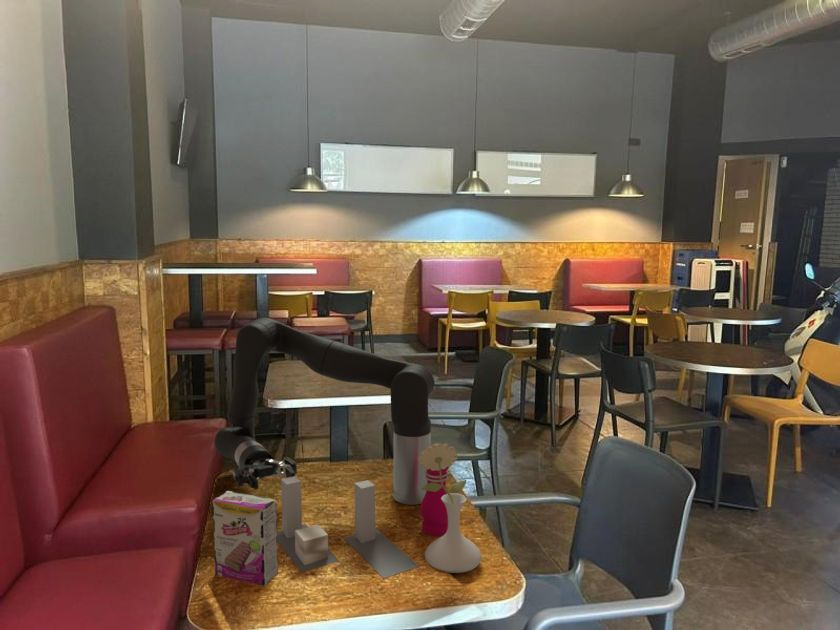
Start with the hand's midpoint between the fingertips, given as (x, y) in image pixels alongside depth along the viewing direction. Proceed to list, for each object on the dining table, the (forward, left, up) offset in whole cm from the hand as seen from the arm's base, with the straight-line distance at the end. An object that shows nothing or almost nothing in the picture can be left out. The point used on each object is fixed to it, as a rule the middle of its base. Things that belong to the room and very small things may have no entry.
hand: (275, 481), depth 141 cm
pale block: (0, +22, -8) cm, 23 cm away
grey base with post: (-12, +27, -9) cm, 31 cm away
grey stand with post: (0, +18, -9) cm, 20 cm away
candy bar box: (+13, +22, -9) cm, 27 cm away
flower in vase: (-23, +37, -9) cm, 44 cm away
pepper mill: (-29, +23, -9) cm, 38 cm away
